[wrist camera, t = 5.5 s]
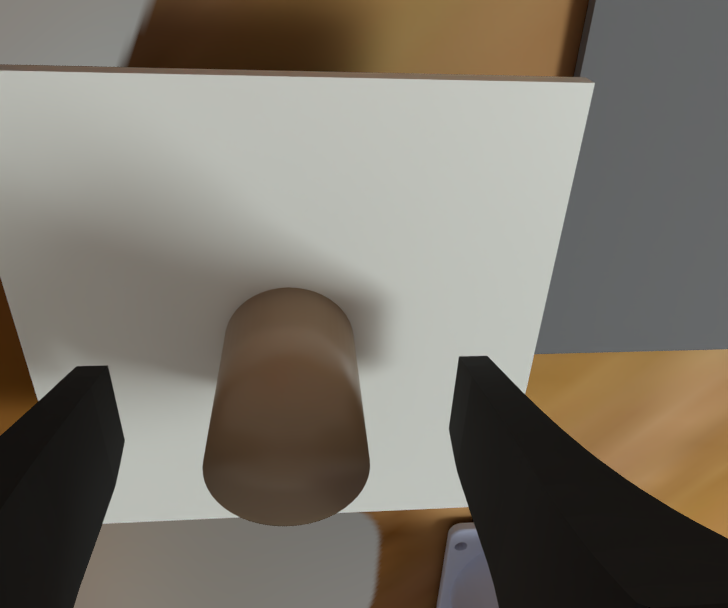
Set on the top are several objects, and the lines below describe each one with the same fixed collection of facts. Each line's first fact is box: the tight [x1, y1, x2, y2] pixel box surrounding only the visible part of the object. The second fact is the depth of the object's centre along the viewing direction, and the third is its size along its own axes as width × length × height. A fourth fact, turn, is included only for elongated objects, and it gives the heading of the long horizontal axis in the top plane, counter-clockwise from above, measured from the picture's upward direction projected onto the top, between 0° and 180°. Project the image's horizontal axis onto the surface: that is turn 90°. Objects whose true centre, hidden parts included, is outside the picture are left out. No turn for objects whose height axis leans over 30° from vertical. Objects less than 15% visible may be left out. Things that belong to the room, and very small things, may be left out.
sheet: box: [0, 65, 595, 526], centre depth 13 cm, size 12×12×4 cm
